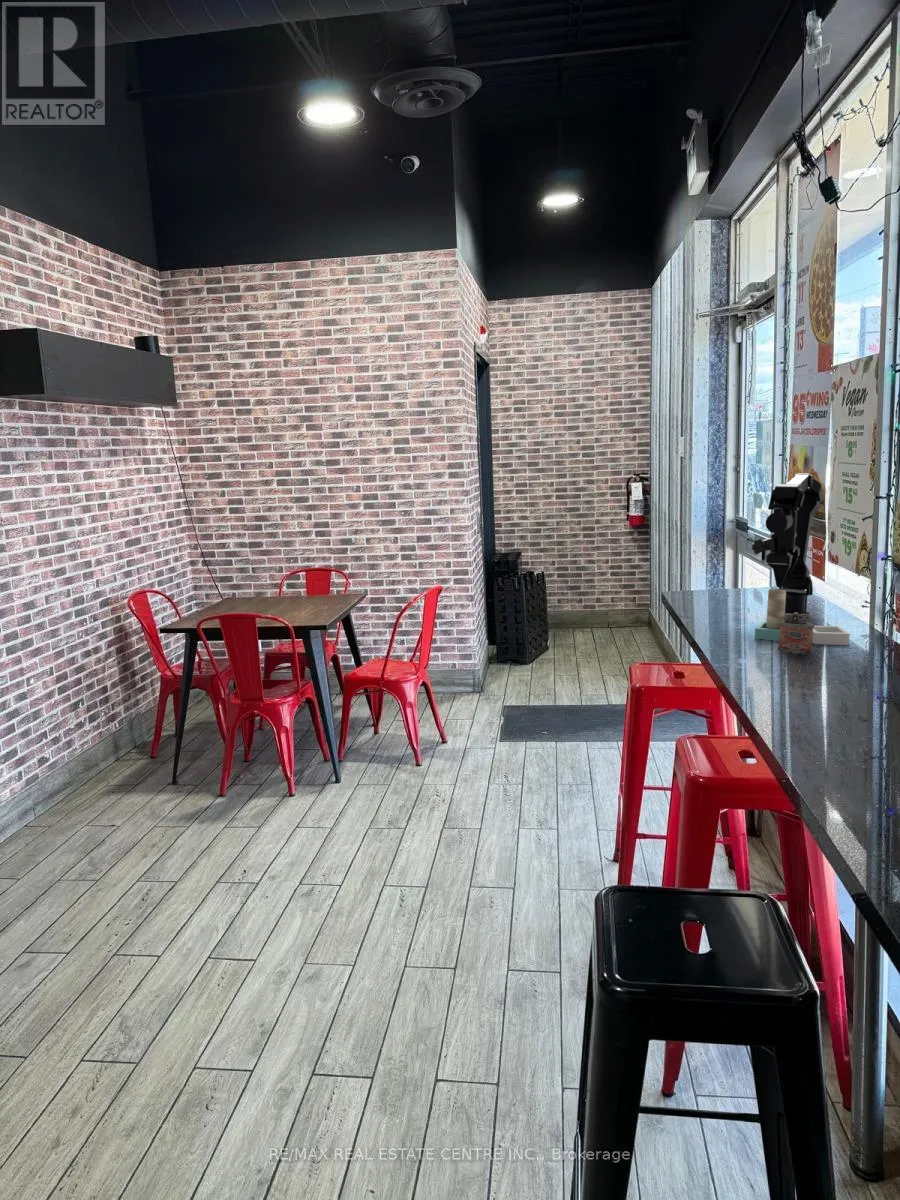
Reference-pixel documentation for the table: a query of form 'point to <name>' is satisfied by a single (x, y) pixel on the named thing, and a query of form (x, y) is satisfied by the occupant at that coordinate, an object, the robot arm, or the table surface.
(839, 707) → the table surface
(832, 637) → the grey socket
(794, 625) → the lighter
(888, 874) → the table surface
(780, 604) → the peg
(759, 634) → the teal socket
